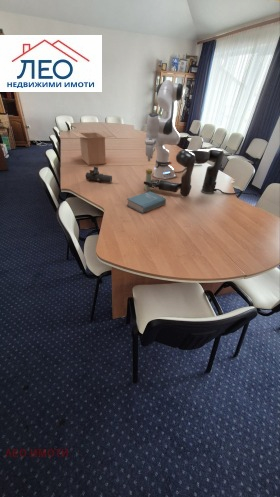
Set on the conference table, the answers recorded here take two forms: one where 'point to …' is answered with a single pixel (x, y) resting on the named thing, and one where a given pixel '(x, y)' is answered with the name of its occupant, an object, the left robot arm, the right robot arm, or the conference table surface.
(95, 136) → the box
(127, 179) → the conference table surface
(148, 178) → the jar
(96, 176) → the laser sight
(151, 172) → the lid
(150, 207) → the book
